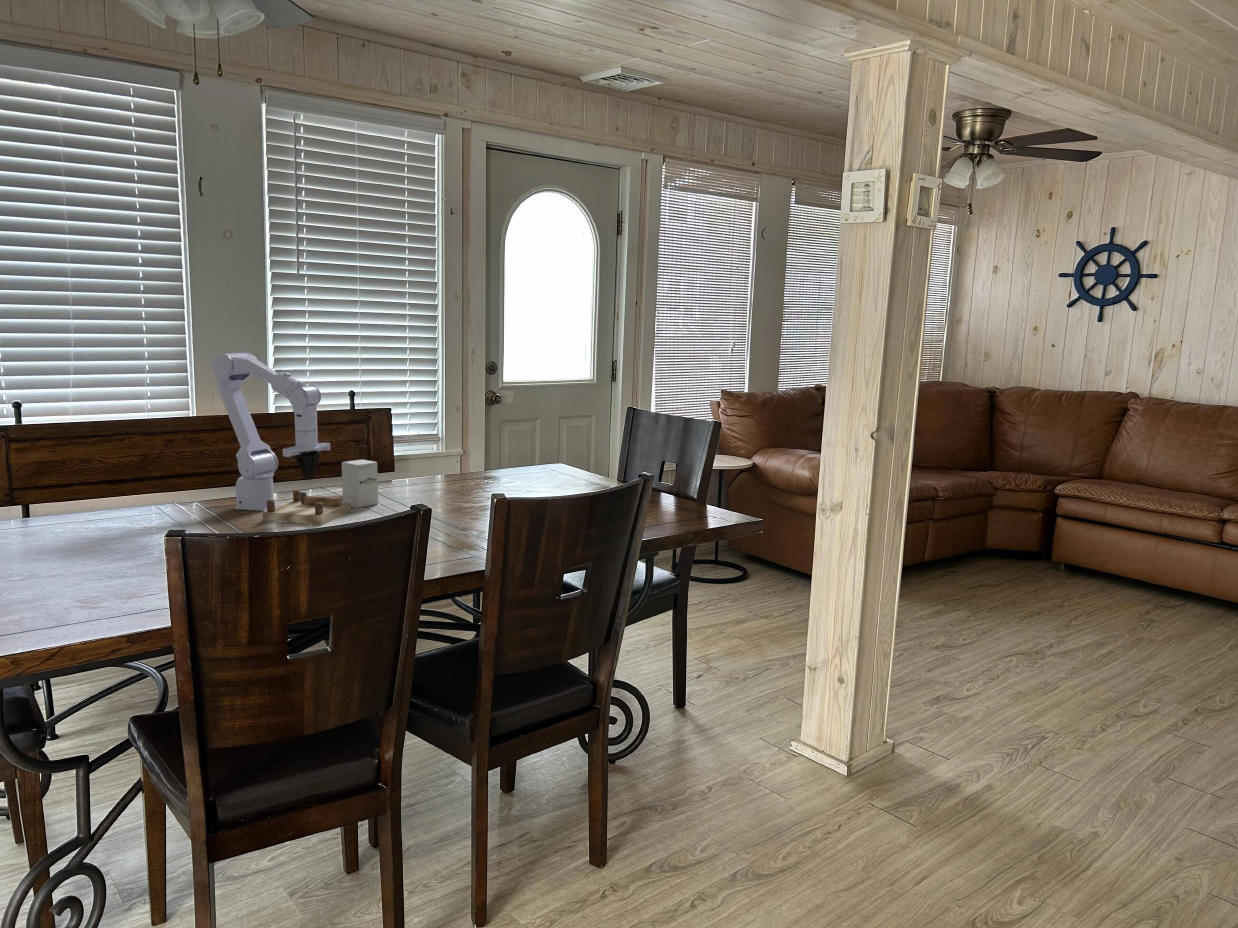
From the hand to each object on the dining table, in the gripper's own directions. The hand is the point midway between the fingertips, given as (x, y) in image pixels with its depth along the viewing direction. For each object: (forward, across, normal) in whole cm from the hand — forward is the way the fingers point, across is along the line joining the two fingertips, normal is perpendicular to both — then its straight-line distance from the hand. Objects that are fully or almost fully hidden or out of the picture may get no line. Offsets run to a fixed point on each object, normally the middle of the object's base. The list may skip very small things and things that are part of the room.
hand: (308, 479), depth 249 cm
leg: (+7, +2, -3) cm, 8 cm away
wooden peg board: (+10, -2, -2) cm, 10 cm away
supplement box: (+10, +16, -2) cm, 19 cm away
